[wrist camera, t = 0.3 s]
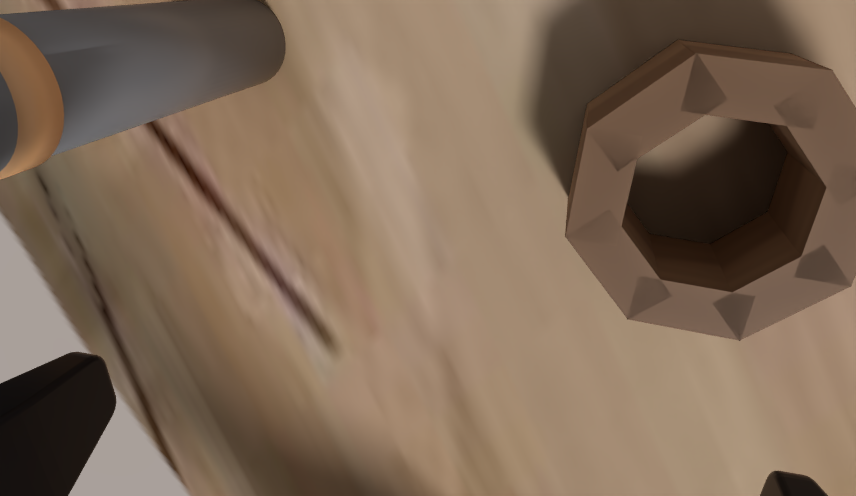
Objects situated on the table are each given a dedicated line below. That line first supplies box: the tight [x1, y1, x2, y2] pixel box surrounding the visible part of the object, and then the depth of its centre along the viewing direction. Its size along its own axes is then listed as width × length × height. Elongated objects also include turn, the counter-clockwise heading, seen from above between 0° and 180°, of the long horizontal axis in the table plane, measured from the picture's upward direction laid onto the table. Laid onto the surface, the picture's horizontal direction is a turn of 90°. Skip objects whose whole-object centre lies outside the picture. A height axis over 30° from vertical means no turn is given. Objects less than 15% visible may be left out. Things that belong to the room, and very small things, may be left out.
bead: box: [565, 40, 856, 341], centre depth 19 cm, size 7×7×4 cm
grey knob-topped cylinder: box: [0, 0, 285, 180], centre depth 16 cm, size 3×3×12 cm
